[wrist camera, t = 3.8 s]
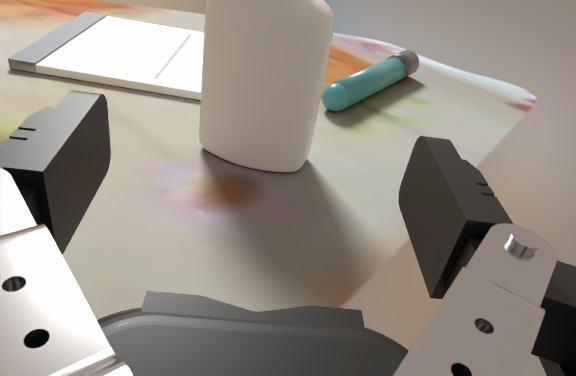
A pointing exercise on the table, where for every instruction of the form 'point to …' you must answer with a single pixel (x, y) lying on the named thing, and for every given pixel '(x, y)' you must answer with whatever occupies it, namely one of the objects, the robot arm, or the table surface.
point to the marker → (369, 81)
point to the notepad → (119, 55)
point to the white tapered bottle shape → (263, 80)
